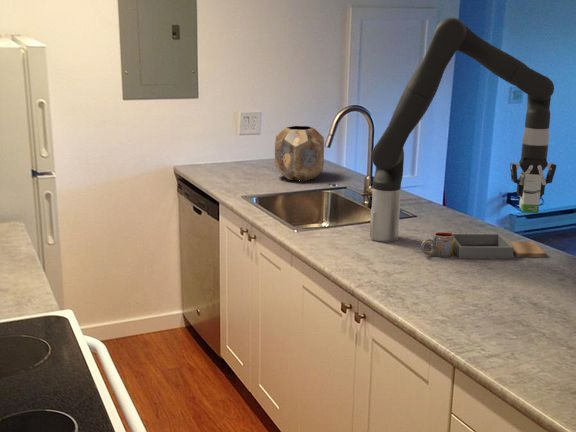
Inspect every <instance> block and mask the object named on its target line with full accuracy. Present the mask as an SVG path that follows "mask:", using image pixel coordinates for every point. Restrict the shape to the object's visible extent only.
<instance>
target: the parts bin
mask: <svg viewBox="0 0 576 432" xmlns="http://www.w3.org/2000/svg"><path fill="white" fill-rule="evenodd" d="M452 234H453V239H454V240H455V242H454V252H453V253H454V254H455V255H456V256H457V258H458V259H513V257H514V253H513V250H514V247H513V246H512V245H511V244H510V243H509V242H510V241H508V240H507V239H506V238H505V237H504V236H503V235H502V234H501V233H452ZM462 245H465V246H462ZM466 245H468V246H466ZM469 245H473V246H469ZM474 245H476V246H474ZM477 245H479V246H477ZM480 245H482V246H480ZM483 245H485V246H483ZM487 245H492V246H487ZM493 245H494V246H493ZM495 245H497V246H495Z"/></svg>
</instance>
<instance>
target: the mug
mask: <svg viewBox="0 0 576 432" xmlns="http://www.w3.org/2000/svg"><path fill="white" fill-rule="evenodd" d="M453 234H454V233H452V232H435V233H434V235H433V236H432V237H433V238H427V239H425V240H423V241H422V243H421V245H420V251H421V252H422V253H423V255H425V256H431V257H433V256H435V257H442V258H443V257H444V258H446V257H447V258H448V257H451V256H454V255H455V252H454V242H455V240H454V239H453ZM428 242H430V243H431V245H430V251H426V250H425V248H424V247H425V245H426V243H428Z"/></svg>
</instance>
